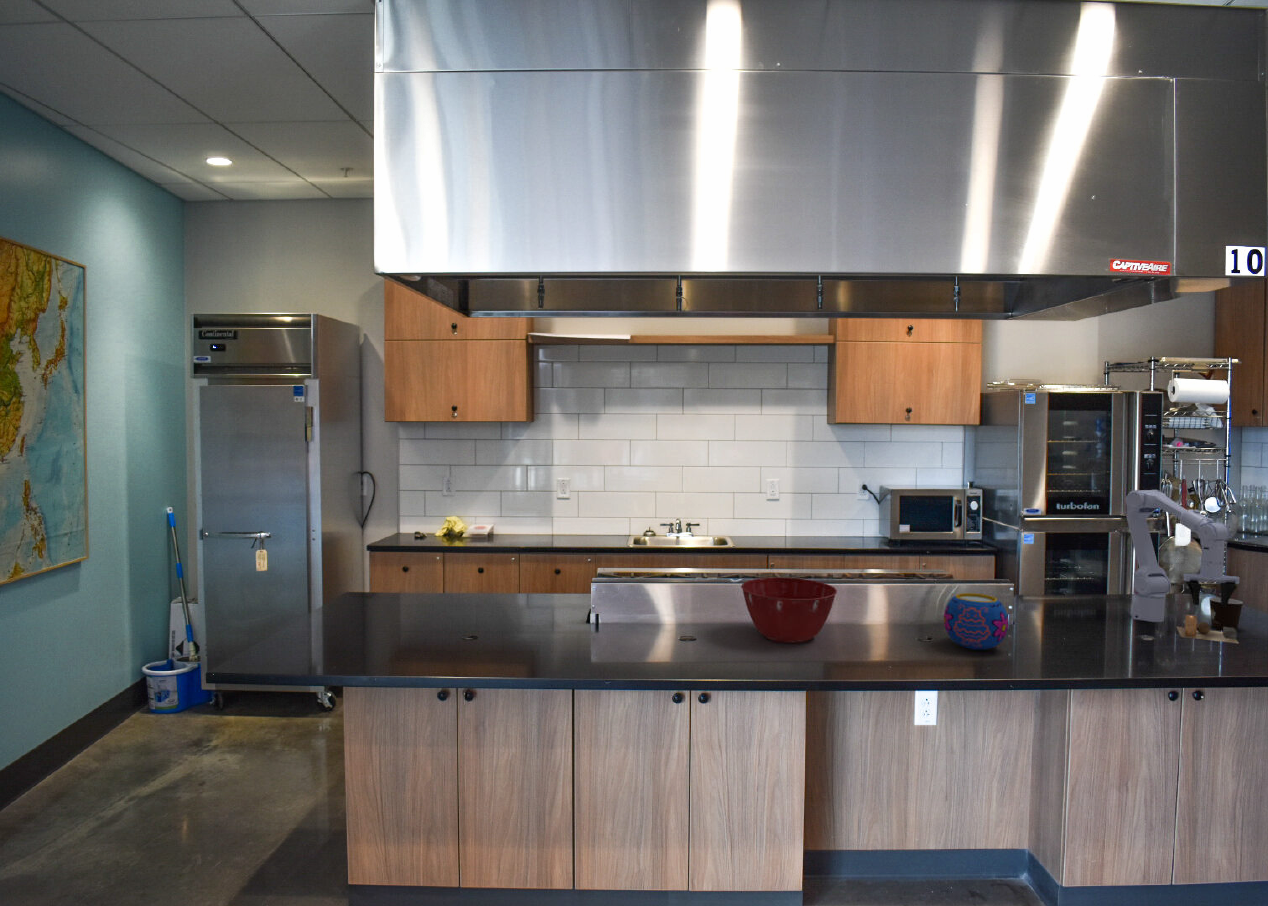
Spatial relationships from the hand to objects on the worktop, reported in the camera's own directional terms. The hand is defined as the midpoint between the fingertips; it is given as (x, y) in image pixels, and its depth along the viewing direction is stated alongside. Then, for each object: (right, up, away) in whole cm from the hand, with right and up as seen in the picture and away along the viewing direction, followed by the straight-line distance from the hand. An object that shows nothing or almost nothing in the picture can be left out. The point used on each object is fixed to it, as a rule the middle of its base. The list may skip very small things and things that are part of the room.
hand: (1209, 605), depth 253 cm
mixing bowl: (-132, -9, -5) cm, 132 cm away
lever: (-4, -9, +3) cm, 10 cm away
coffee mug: (+12, -10, +10) cm, 18 cm away
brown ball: (-1, -9, +2) cm, 9 cm away
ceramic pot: (-78, -10, -13) cm, 80 cm away
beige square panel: (0, -10, +1) cm, 10 cm away
